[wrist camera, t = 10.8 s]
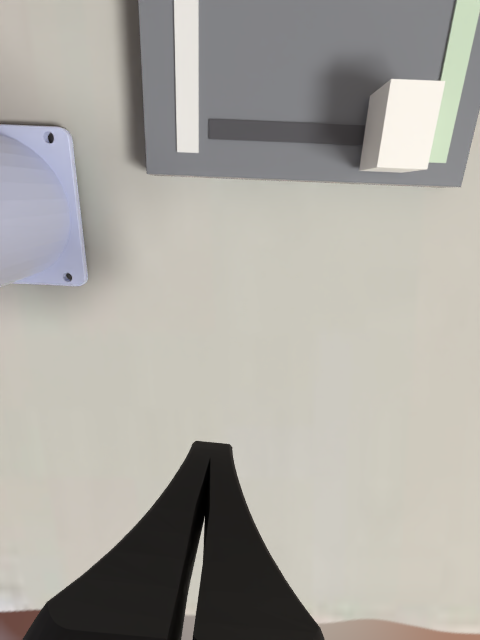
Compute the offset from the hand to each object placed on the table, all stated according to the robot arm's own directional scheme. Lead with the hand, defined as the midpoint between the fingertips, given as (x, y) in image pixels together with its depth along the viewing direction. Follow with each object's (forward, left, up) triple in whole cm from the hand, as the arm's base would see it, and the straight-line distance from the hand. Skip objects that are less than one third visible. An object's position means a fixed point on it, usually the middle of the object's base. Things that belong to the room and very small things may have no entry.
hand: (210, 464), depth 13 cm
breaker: (+7, +12, -8) cm, 16 cm away
